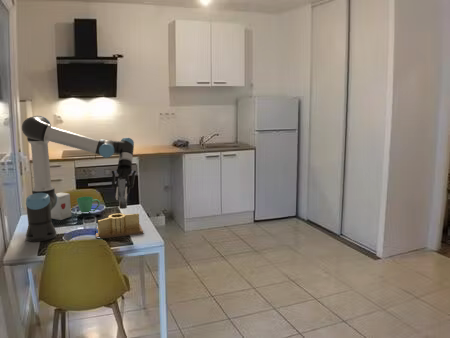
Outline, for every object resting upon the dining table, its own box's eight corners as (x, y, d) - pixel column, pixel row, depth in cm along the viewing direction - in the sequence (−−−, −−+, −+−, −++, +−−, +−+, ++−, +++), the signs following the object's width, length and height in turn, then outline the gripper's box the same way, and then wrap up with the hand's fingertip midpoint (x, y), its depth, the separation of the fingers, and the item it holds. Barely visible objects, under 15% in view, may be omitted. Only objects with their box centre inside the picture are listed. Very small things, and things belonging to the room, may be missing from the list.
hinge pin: (119, 209, 226) (118, 180, 223) (119, 206, 230) (117, 178, 226) (127, 208, 227) (125, 179, 224) (126, 206, 231) (125, 177, 228)
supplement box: (60, 220, 258) (58, 196, 255) (50, 218, 262) (48, 195, 259) (72, 216, 266) (70, 193, 263) (61, 214, 270) (59, 192, 267)
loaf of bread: (96, 239, 225) (95, 222, 223) (95, 230, 239) (93, 214, 237) (143, 233, 233) (142, 217, 231) (139, 225, 247) (138, 209, 245)
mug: (75, 215, 268) (74, 200, 266) (81, 211, 278) (80, 196, 276) (97, 215, 267) (96, 200, 265) (103, 211, 276) (102, 196, 275)
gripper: (141, 165, 240) (138, 201, 227) (111, 166, 239) (106, 202, 226) (139, 158, 234) (136, 194, 221) (108, 158, 233) (103, 195, 220)
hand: (121, 198), depth 223 cm, fingers closed on hinge pin, 4 cm apart
